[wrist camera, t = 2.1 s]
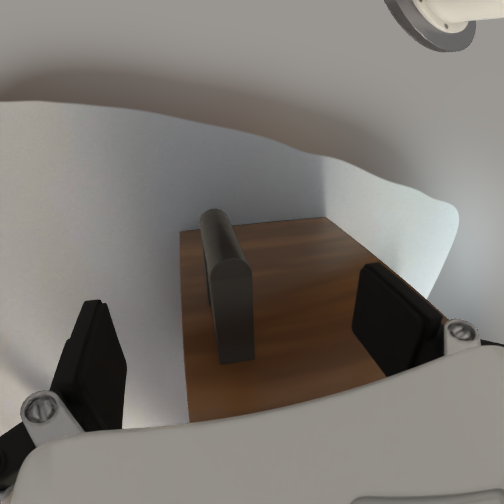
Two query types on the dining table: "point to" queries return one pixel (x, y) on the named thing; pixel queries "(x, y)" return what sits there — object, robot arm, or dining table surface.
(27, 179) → the dining table surface
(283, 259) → the cupboard door
